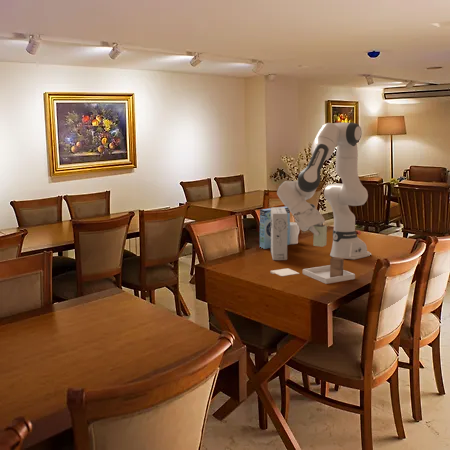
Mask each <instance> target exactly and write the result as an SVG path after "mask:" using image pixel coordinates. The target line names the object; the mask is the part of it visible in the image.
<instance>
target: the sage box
mask: <svg viewBox="0 0 450 450" xmlns="http://www.w3.org/2000/svg"><path fill="white" fill-rule="evenodd" d="M314 227H315V229H316V230H317V231H319V232H320V235H319V236H316V235H315V234H314V233H313V241H312V243H313V244H312V245H313V247H314V246H315V247H321V248H323V247H325V246H327V236H328V235H327V234H328V233H327V232H328V231H327V230H328V226H327V225H325V224H324V225H323V224H322V225H316V226H314Z"/></svg>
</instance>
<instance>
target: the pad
mask: <svg viewBox="0 0 450 450" xmlns="http://www.w3.org/2000/svg"><path fill="white" fill-rule="evenodd" d="M269 272H270V274H272V275H274V274H275V275H277V276H280V277H286V276H295V275H300V272H297V271H296V270H293V269H292V268H281V269H279V268H278V269H274V270H273V269H272V270H270V271H269Z"/></svg>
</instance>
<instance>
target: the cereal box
mask: <svg viewBox="0 0 450 450" xmlns="http://www.w3.org/2000/svg"><path fill="white" fill-rule="evenodd" d="M276 207H277V206H276ZM276 207H270V208H271V248H270V254H271V257H272V261H287V260H288V245H287V224H288V214H287V212H286V210H285V208H284V206H278V207H277V208H276Z"/></svg>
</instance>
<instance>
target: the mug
mask: <svg viewBox="0 0 450 450" xmlns="http://www.w3.org/2000/svg"><path fill="white" fill-rule="evenodd" d="M300 231H301V229H300V228H299V226H298V225H297V223H296V222H293V221H290V245H297V244H298V243H299V234H300Z"/></svg>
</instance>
